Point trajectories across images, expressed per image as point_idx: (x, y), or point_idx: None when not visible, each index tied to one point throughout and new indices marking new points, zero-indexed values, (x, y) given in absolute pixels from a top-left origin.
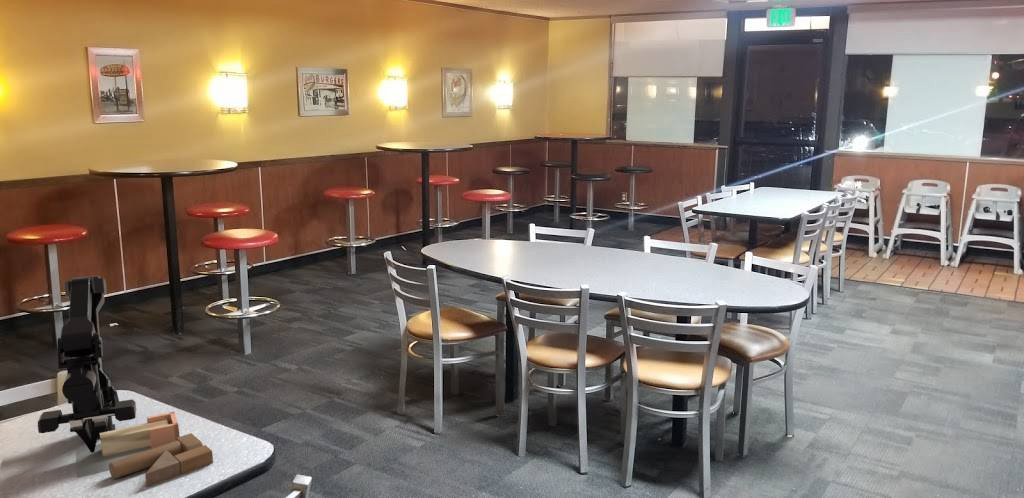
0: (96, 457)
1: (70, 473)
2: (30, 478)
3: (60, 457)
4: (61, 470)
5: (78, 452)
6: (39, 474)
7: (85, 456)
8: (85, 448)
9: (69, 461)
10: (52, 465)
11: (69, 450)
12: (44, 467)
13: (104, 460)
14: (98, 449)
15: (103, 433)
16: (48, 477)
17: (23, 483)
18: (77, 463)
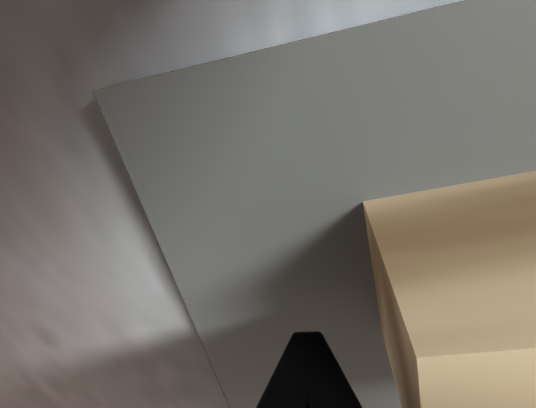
0: (332, 326)
1: (205, 398)
2: (9, 376)
3: (22, 171)
4: (137, 355)
5: (152, 188)
6: (30, 355)
7: (240, 281)
8: (188, 115)
9: (133, 262)
10: (40, 279)
11: (19, 33)
12: (2, 288)
13: (393, 380)
14: (329, 187)
15: (486, 388)
16: (102, 396)
17: (7, 404)
18: (214, 359)
